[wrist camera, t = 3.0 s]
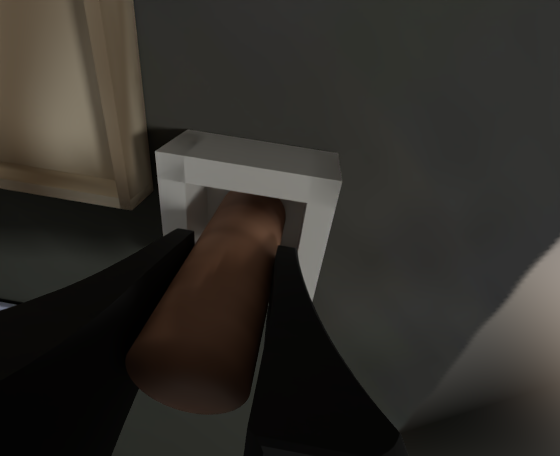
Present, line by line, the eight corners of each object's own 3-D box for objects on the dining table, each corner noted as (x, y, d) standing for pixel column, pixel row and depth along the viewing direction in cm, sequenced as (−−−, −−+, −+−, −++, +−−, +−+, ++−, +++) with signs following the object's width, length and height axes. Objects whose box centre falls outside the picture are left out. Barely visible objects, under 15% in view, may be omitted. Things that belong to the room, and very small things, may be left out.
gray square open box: (192, 250, 16) (168, 289, 14) (187, 129, 13) (154, 151, 10) (311, 270, 16) (309, 314, 14) (338, 153, 13) (342, 181, 10)
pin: (220, 236, 15) (134, 402, 8) (221, 179, 13) (115, 325, 6) (281, 246, 15) (246, 423, 8) (290, 190, 13) (255, 350, 6)
